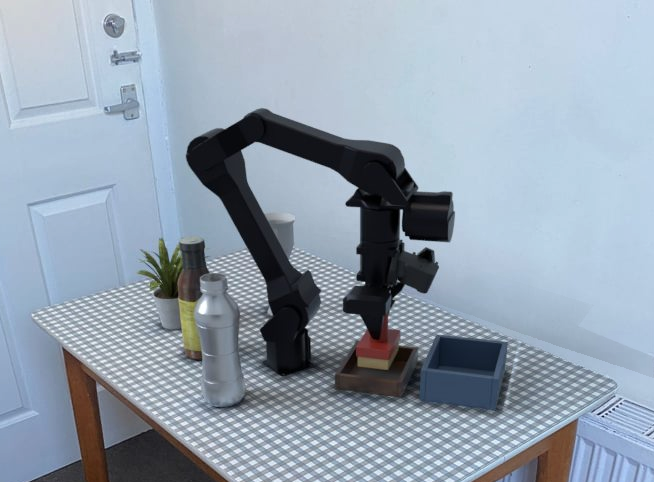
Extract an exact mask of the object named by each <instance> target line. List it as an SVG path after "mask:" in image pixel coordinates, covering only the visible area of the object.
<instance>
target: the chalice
mask: <svg viewBox="0 0 654 482" xmlns="http://www.w3.org/2000/svg"><path fill="white" fill-rule="evenodd" d="M264 214H265V216H266V218H267V220H268V222H269V224H270V226H271V228H272V229H273V231H274V233H275V235H276V237H277V239H278V241H279V243H280V244H281V246H282V248H283V250H284V252H285V254H286V256H287V258H288V259H289V260H290V257H291V256H292V253H293V249H294V245H295V235H294V224H295V221H296V215H294V214H292V213H289V212H283V211H282V212H281V211H280V212H278V211H277V212H265V213H264ZM267 315H269V316H270V317H271V316H272V315H273V314H272V312H271V309H270V306H269V305H268V309H267Z"/></svg>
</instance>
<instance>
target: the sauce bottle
mask: <svg viewBox="0 0 654 482" xmlns="http://www.w3.org/2000/svg"><path fill="white" fill-rule="evenodd" d="M182 238H183V239H182ZM182 238H181V239H180V240H179V241H178V243H179V246H180V250H179V251H180V253H181V254H182V266H183V269H182V272H181V273H180V275H179V278H178V284H177V285H178V292H179V296H178V300H179V309H180V318H181V327H182V328H181V334H182V344H183V347H184V354H185V355H186V357H187V358H189V359H191V360H200V361H202V350H201V349H202V348H201V344H200V338H199V334H198V330H197V326H196V322H195V317H194V311H195V307H196V305H197V303H198V301H199V299H200V298H201V296H202V295H203V293H202V292H201V291H200V287H201V285H200V277H201V276H203V275H205V274H210V271H209V267H208V266H207V262H206V258H205V257H206V256H205V255H206V254H205V250H204V249H206V244H205V239H204V238H203V237H201V236H187V237H182Z"/></svg>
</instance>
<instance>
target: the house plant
mask: <svg viewBox="0 0 654 482" xmlns="http://www.w3.org/2000/svg"><path fill="white" fill-rule="evenodd" d="M183 238H184V237H181V239H183ZM210 249H211V248H209V250H210ZM139 250H140V251H141V253H142V254H144V255H142V256H143V257H144V258H145V259H146V260H142V259H140V258H138V260H139V261H140V263H144V264H145V265H146V266H147V267H148V268H149V269H150V270H152V271H153V272H154V273H155V274H156V275H155V274H154V273H152V272H150V271H148V270H144V269H142V270H138V271H137V272H136V274H137V275H142V276H146V277H148V278H149V279H150V278H151V279H152V280H154V281H149V293H151V292H152V297H153V301H154V304H155V306H156V309H157V313H158V316H159V319H160V321H161V326H162V327H163V328H164V329H166V330H182V327H181V318H180V309H179V300H178V296H179V292H178V285H177V284H178V278H179V275H180V273H181V272H182V269H183V266H182V254H181V252H180V251H181V250H180V246H179V242H178V244H177V245H176V248H175V249H174V250H173V252H172V255H171V259H170V256H169V251H168V248H167V246H166V243H165V240H164V238H163V237H159V239H158V253H156V252H154V251H152V253H153V254H155V256H156V257H157V258H158V260H159V263H158V262H157V260H156V259H155V258H154V257H153V256H152V255H151V254H150V253H149V252H148V251H145V250H143V249H142V248H139ZM206 250H208V248H205V249H204V251H206ZM210 257H211V255H206V256H205V259H206V258H210ZM148 263H149V264H150V265H151V266H150V265H149V264H148ZM152 266H153V267H152Z"/></svg>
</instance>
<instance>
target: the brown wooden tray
mask: <svg viewBox="0 0 654 482" xmlns="http://www.w3.org/2000/svg"><path fill="white" fill-rule="evenodd" d="M359 342H360V340H355V342H354V344H353V345H352V347H351V348H350V349H349V352H348V353H347V354H346V355H345V358H344V359H343V361H342V363H341V364H340V366H339V367H338V369H337V370H336V372H335V374H334V390H338V391H345V392H354V393H361V394H369V395H377V396H384V397H392V398H400V399H402V398H403V396H404V393H405V391H406V388H407V387H408V384H409V382H410V380H411V378H412V375H413V373H414V371H415V369H416V367H417V366H418V365H417V364H418V363H419V347H417V346H409V345H408V346H407V345H400V344H399V350H398V352H397V354H396V356H395V358H394V360H393V362H392V363H391V365H390V367H389V369H388V370H384V369H375V368H367V367H358V357H357V356H356V346H357V345H358V343H359Z"/></svg>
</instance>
